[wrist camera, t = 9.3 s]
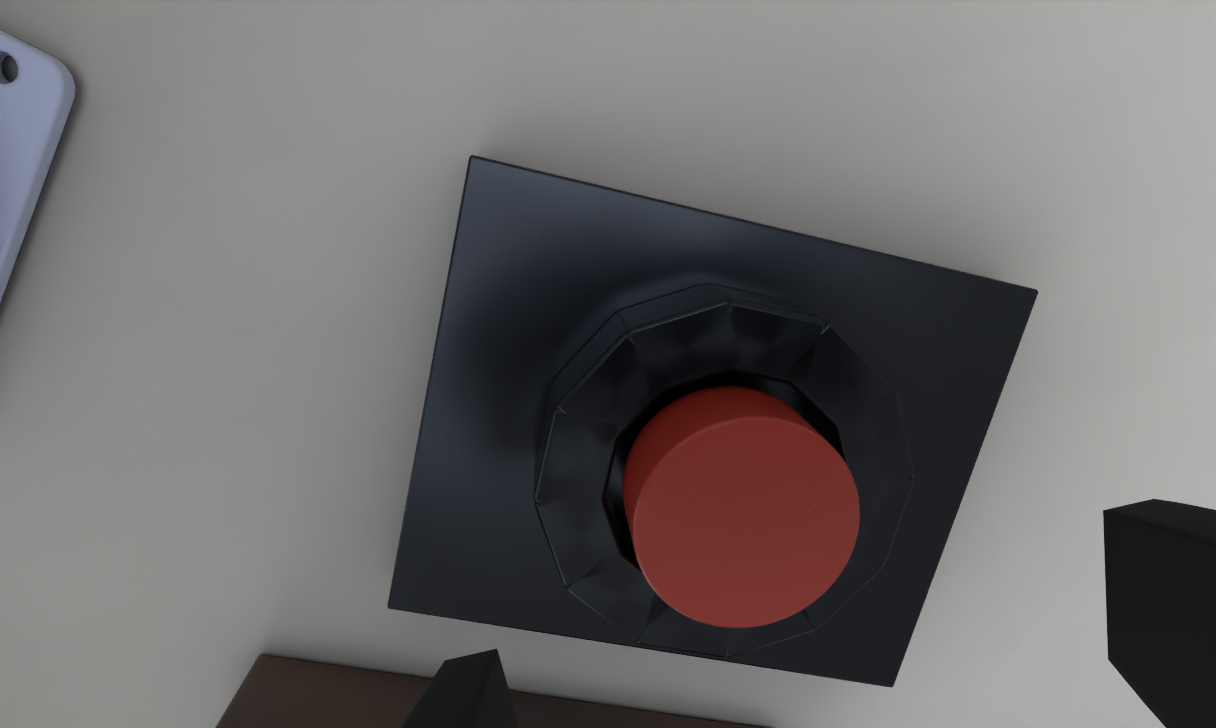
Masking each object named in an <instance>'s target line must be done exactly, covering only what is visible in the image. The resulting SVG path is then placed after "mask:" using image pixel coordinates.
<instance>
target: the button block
mask: <svg viewBox="0 0 1216 728" xmlns="http://www.w3.org/2000/svg"><path fill="white" fill-rule="evenodd" d="M1037 294H1038V291H1037V290H1036V289H1032V288H1028V287H1024V286H1020V285H1016V284H1012V283H1007V282H1003V281H999V280H995V279H991V278H987V277H982V276H978V275H974V274H970V273H966V272H961V271H957V270H953V269H949V268H945V267H940V266H936V265H932V264H928V263H924V262H919V261H915V260H911V259H907V258H903V257H898V256H894V255H890V254H886V253H882V252H878V251H873V250H869V249H865V248H861V247H857V246H852V245H848V244H844V243H840V242H836V241H831V240H827V239H823V238H819V237H815V236H810V235H806V234H802V233H798V232H794V231H789V230H785V229H781V228H777V227H773V226H768V225H764V224H760V223H756V222H752V221H747V220H743V219H739V218H735V217H731V216H727V215H722V214H718V213H714V212H710V211H706V210H701V209H697V208H693V207H689V206H685V205H680V204H676V203H672V202H668V201H664V200H659V199H655V198H651V197H647V196H643V195H638V194H634V193H630V192H626V191H622V190H617V189H613V188H609V187H605V186H601V185H597V184H592V183H588V182H584V181H580V180H576V179H571V178H567V177H563V176H559V175H555V174H550V173H546V172H542V171H538V170H534V169H529V168H525V167H521V166H517V165H513V164H508V163H504V162H500V161H496V160H492V159H487V158H483V157H479V156H474V155H471V156H470V157H469V161H468V167H467V172H466V178H465V183H464V189H463V194H462V200H461V205H460V211H459V216H458V222H457V227H456V233H455V238H454V244H453V249H452V255H451V260H450V266H449V271H448V277H447V282H446V287H445V293H444V298H443V304H442V309H441V315H440V320H439V326H438V331H437V337H436V342H435V348H434V353H433V359H432V364H431V370H430V375H429V381H428V386H427V392H426V397H425V403H424V408H423V414H422V419H421V425H420V430H419V436H418V441H417V447H416V452H415V458H414V463H413V469H412V474H411V480H410V485H409V491H408V496H407V501H406V507H405V512H404V518H403V523H402V529H401V534H400V540H399V545H398V551H397V556H396V562H395V567H394V573H393V578H392V584H391V589H390V595H389V600H388V608H389V609H396V610H402V611H408V612H415V613H421V614H427V615H434V616H440V617H446V618H453V619H459V620H465V621H472V622H478V623H485V624H491V625H497V626H504V627H510V628H516V629H523V630H529V631H535V632H542V633H548V634H554V635H561V636H567V637H574V638H580V639H586V640H593V641H599V642H605V643H612V644H618V645H624V646H631V647H637V648H644V649H650V650H656V651H663V652H669V653H675V654H682V655H688V656H694V657H701V658H707V659H713V660H720V661H726V662H733V663H739V664H745V665H752V666H758V667H764V668H771V669H777V670H783V671H790V672H796V673H802V674H809V675H815V676H822V677H828V678H834V679H841V680H847V681H853V682H860V683H866V684H872V685H879V686H885V687H893V686H894V683H895V680H896V677H897V675H898V672H899V669H900V667H901V664H902V661H903V658H904V656H905V653H906V650H907V648H908V645H909V642H910V639H911V637H912V634H913V631H914V628H915V626H916V623H917V620H918V618H919V615H920V612H921V609H922V607H923V604H924V601H925V599H926V596H927V593H928V590H929V588H930V585H931V582H932V580H933V577H934V574H935V571H936V569H937V566H938V563H939V561H940V558H941V555H942V552H943V550H944V547H945V544H946V542H947V539H948V536H949V533H950V531H951V528H952V525H953V523H954V520H955V517H956V514H957V512H958V509H959V506H960V504H961V501H962V498H963V495H964V493H965V490H966V487H967V485H968V482H969V479H970V476H971V474H972V471H973V468H974V465H975V463H976V460H977V457H978V455H979V452H980V449H981V446H982V444H983V441H984V438H985V436H986V433H987V430H988V427H989V425H990V422H991V419H992V417H993V414H994V411H995V408H996V406H997V403H998V400H999V398H1000V395H1001V392H1002V389H1003V387H1004V384H1005V381H1006V379H1007V376H1008V373H1009V370H1010V368H1011V365H1012V362H1013V360H1014V357H1015V354H1016V351H1017V349H1018V346H1019V343H1020V341H1021V338H1022V335H1023V332H1024V330H1025V327H1026V324H1027V322H1028V319H1029V316H1030V313H1031V311H1032V308H1033V305H1034V302H1035V300H1036V297H1037ZM718 386H742V387H749V388H754V389H757V390H761V391H764V392H766V393H769V394H771V395H773V396H776V397H777V398H779V399H781V400H782V401H784V402H786V403H787V404H788V405H789V406H791V407H792V408H793V409H794V410H796V411H797V412H798V413H799V414H800V415H801V416H802V417H803V418H804V419H805V420H806V421H807V422H808V423H809V424H810V425H811V426H812V427H813V428H814V429H815V430H816V431H817V432H818V433H819V434H820V435H821V436H822V437H823V438H825V439H826V440H827V441H828V442H829V443H830V444H831V445H832V446H833V448H834V449H835V450H836V451H837V452H838V453H839V454H840V456H841V457H842V458H843V460H844V461H845V463H846V464H847V466H848V468H849V470H850V472H851V474H852V476H853V479H854V482H855V485H856V488H857V492H858V498H859V505H860V521H859V529H858V535H857V538H856V542H855V546H854V549H853V551H852V553H851V556H850V558H849V560H848V562H847V564H846V566H845V567H844V569H843V571H842V572H841V574H840V575H839V576H838V578H837V579H836V581H835V582H834V583H833V584H832V585H831V586H830V587H829V588H828V590H827V591H826V592H825V593H824V594H823V595H821V596H820V597H819V598H818V599H817V600H815V601H814V602H813V603H812V604H810V605H809V606H807V607H805V608H804V609H802V610H801V611H799V612H797V613H795V614H793V615H791V616H789V617H787V618H784V619H782V620H779V621H776V622H774V623H770V624H766V625H762V626H755V627H748V628H727V627H718V626H713V625H709V624H705V623H702V622H699V621H696V620H694V619H691V618H689V617H687V616H685V615H683V614H681V613H679V612H678V611H676V610H675V609H674V608H672V607H671V606H669V605H668V604H667V603H666V602H665V601H663V600H662V599H661V598H660V597H659V596H658V595H657V594H656V593H655V591H654V590H653V589H652V588H651V586H650V585H649V584H648V582H647V580H646V579H645V577H644V575H643V574H642V571H641V569H640V567H639V564H638V562H637V559H636V555H635V551H634V547H633V542H632V538H631V533H630V529H629V524H628V520H627V516H626V511H625V507H624V502H623V493H622V482H623V473H624V467H625V463H626V460H627V457H628V454H629V451H630V449H631V447H632V445H633V443H634V441H635V439H636V438H637V436H638V435H639V433H640V432H641V430H642V429H643V428H644V426H645V425H646V424H647V423H648V422H649V421H650V419H651V418H653V417H654V416H655V415H656V414H657V413H658V412H659V411H660V410H662V409H663V408H664V407H666V406H667V405H669V404H670V403H671V402H673V401H675V400H677V399H679V398H681V397H683V396H684V395H687V394H690V393H692V392H695V391H698V390H702V389H706V388H710V387H718Z"/></svg>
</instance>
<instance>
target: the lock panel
mask: <svg viewBox="0 0 1216 728" xmlns="http://www.w3.org/2000/svg"><path fill="white" fill-rule="evenodd" d="M430 682H431V680H429V679H422V678H415V677H408V676H402V675H395V674H388V673H381V672H374V671H367V670H361V669H354V668H347V667H340V666H333V665H326V664H319V663H313V662H306V661H299V660H292V659H285V658H278V657H272V656H265V655H260V656H258V658H257V659H256V661H255V663H254V664H253V666H252V668H251V669H250V671H249V673H248V674H247V676H246V678H245V679H244V681H243V683H242V684H241V686H240V688H239V689H238V691H237V693H236V694H235V696H234V698H233V699H232V701H231V703H230V704H229V706H228V708H227V709H226V711H225V713H224V714H223V716H222V718H221V719H220V721H219V723H218V724H217V726H216V728H400V727H401V726H402V724H403V723H404V721H405V720H406V718H407V717H408V715H409V714H410V712H411V710H412V709H413V707H414V706H415V704H416V703H417V701H418V700H419V698H420V697H421V695H422V694H423V692H424V691H425V689H426V688H427V686H428V685H429V683H430ZM509 692H510V696H511V699H512V703H513V706H514V710H515V714H516V717H517V721H518V724H519V728H758V727H751V726H744V725H737V724H730V723H723V722H716V721H710V720H703V719H696V718H689V717H682V716H675V715H669V714H662V713H655V712H648V711H641V710H634V709H627V708H621V707H614V706H607V705H600V704H593V703H586V702H580V701H573V700H566V699H559V698H552V697H545V696H538V695H532V694H525V693H518V692H511V691H509Z"/></svg>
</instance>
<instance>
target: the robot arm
mask: <svg viewBox="0 0 1216 728" xmlns="http://www.w3.org/2000/svg"><path fill="white" fill-rule="evenodd" d="M9 55H10V56H12V57H13V58H14V59H15V61H16V64H17V66H18V76H17V77H16V79H15V80H14V81H13V82H11V83H10V82H8V81H7V80H6V79H5V77H4V75H3V73H2V71H1V66H2V61H3V60H4V59H5V57H6V56H9ZM75 90H76V87H75V83H74V80H73V76H72V75H71V73H70V72H69V70H68V69H67V67H66V66H65V65H64V64H62V63H61V62H60V61H58V60H57V59H56V58H54V57H52V56H50V55H48V54H46V53H44V52H42V51H40V50H38V49H36V48H34V47H32V46H30V45H28V44H27V43H25V42H23V41H21V40H19V39H17V38H15V37H13V36H11V35H9V34H7V33H5V32H3V31H1V30H0V302H1V300H2V297H3V294H4V291H5V289H6V286H7V283H8V280H9V278H10V275H11V272H12V269H13V267H14V264H15V261H16V258H17V256H18V253H19V250H20V247H21V245H22V242H23V239H24V236H25V234H26V231H27V228H28V225H29V223H30V220H31V217H32V214H33V212H34V209H35V206H36V203H37V201H38V198H39V195H40V192H41V190H42V187H43V184H44V181H45V178H46V176H47V173H48V170H49V167H50V165H51V162H52V159H53V156H54V154H55V151H56V148H57V145H58V143H59V140H60V137H61V134H62V132H63V129H64V126H65V123H66V121H67V118H68V115H69V112H70V110H71V107H72V104H73V101H74V97H75ZM1103 517H1104V547H1105V577H1106V607H1107V637H1108V660H1109V661H1110V662H1111V663H1112V664H1113V666H1114V667H1115V668H1116V669H1117V670H1118V672H1119V673H1120V674H1121V675H1122V677H1123V678H1124V679H1125V680H1126V681H1127V683H1128V684H1129V685H1130V686H1131V687H1132V689H1133V690H1134V691H1135V692H1136V694H1137V695H1138V696H1139V697H1140V698H1141V700H1142V701H1143V702H1144V703H1145V704H1146V705H1147V707H1148V708H1149V709H1150V710H1151V711H1152V712H1153V713H1154V715H1155V716H1156V717H1157V718H1158V719H1159V720H1160V721H1161V722H1162V724H1163V725H1164V726H1165V727H1166V728H1216V510H1213V509H1208V508H1203V507H1198V506H1193V505H1188V504H1183V503H1177V502H1171V501H1164V500H1158V499H1151V500H1147V501H1143V502H1138V503H1134V504H1129V505H1125V506H1121V507H1116V508H1112V509H1107V510H1103ZM400 728H519V724H518V721H517V717H516V714H515V710H514V706H513V703H512V699H511V696H510V692H509V689H508V685H507V682H506V678H505V675H504V671H503V668H502V664H501V661H500V657H499V654H498V650H497V649H494V650H489V651H485V652H480V653H476V654H472V655H467V656H463V657H459V658H454V659H450V660H445V661H444V663H443V664H442V666H441V667H440V669H439V670H438V672H437V673H436V675H435V676H434V677H433V679H432V680H431V682H430V683H429V685H428V686H427V688H426V689H425V691H424V692H423V694H422V695H421V697H420V698H419V700H418V701H417V703H416V704H415V706H414V707H413V709H412V710H411V712H410V714H409V715H408V717H407V718H406V720H405V721H404V723H403V724H402V726H401V727H400Z"/></svg>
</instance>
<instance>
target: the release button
mask: <svg viewBox="0 0 1216 728" xmlns="http://www.w3.org/2000/svg"><path fill="white" fill-rule="evenodd" d="M622 493H623V502H624V507H625V511H626V516H627V520H628V524H629V529H630V533H631V538H632V542H633V547H634V551H635V555H636V559H637V562H638V564H639V567H640V569H641V571H642V574H643V575H644V577H645V579H646V580H647V582H648V584H649V585H650V586H651V588H652V589H653V590H654V591H655V593H656V594H657V595H658V596H659V597H660V598H661V599H662V600H663V601H665V602H666V603H667V604H668V605H669V606H671V607H672V608H674V609H675V610H676V611H678V612H679V613H681V614H683V615H685V616H687V617H689V618H691V619H694V620H696V621H699V622H702V623H705V624H709V625H713V626H718V627H727V628H748V627H755V626H762V625H766V624H770V623H774V622H776V621H779V620H782V619H784V618H787V617H789V616H791V615H793V614H795V613H797V612H799V611H801V610H802V609H804V608H805V607H807V606H809V605H810V604H812V603H813V602H814V601H815V600H817V599H818V598H819V597H820V596H821V595H823V594H824V593H825V592H826V591H827V590H828V588H829V587H830V586H831V585H832V584H833V583H834V582H835V581H836V579H837V578H838V576H839V575H840V574H841V572H842V571H843V569H844V567H845V566H846V564H847V562H848V560H849V558H850V556H851V553H852V551H853V549H854V546H855V542H856V538H857V535H858V529H859V521H860V505H859V498H858V492H857V488H856V485H855V482H854V479H853V476H852V474H851V472H850V470H849V468H848V466H847V464H846V463H845V461H844V460H843V458H842V457H841V456H840V454H839V453H838V452H837V451H836V450H835V449H834V448H833V446H832V445H831V444H830V443H829V442H828V441H827V440H826V439H825V438H823V437H822V436H821V435H820V434H819V433H818V432H817V431H816V430H815V429H814V428H813V427H812V426H811V425H810V424H809V423H808V422H807V421H806V420H805V419H804V418H803V417H802V416H801V415H800V414H799V413H798V412H797V411H796V410H794V409H793V408H792V407H791V406H789V405H788V404H787V403H786V402H784V401H782V400H781V399H779V398H777V397H776V396H773V395H771V394H769V393H766V392H764V391H761V390H757V389H754V388H749V387H742V386H718V387H710V388H706V389H702V390H698V391H695V392H692V393H690V394H687V395H684V396H683V397H681V398H679V399H677V400H675V401H673V402H671V403H670V404H669V405H667V406H666V407H664V408H663V409H662V410H660V411H659V412H658V413H657V414H656V415H655V416H654V417H653V418H651V419H650V421H649V422H648V423H647V424H646V425H645V426H644V428H643V429H642V430H641V432H640V433H639V435H638V436H637V438H636V439H635V441H634V443H633V445H632V447H631V449H630V451H629V454H628V457H627V460H626V463H625V467H624V473H623V482H622Z"/></svg>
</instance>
